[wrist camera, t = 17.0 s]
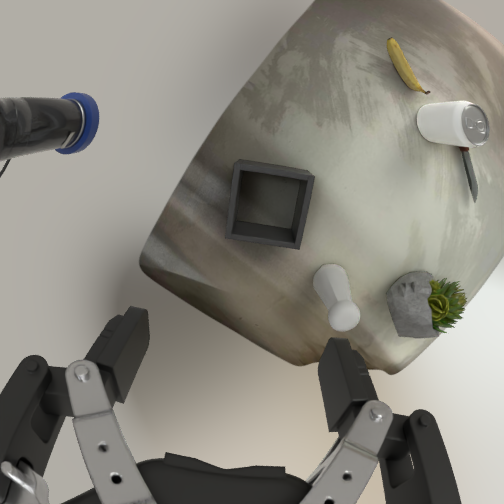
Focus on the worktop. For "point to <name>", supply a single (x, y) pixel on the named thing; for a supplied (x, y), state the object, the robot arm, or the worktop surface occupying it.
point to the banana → (403, 66)
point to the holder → (265, 232)
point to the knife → (469, 172)
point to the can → (454, 123)
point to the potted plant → (424, 305)
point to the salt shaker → (336, 296)
